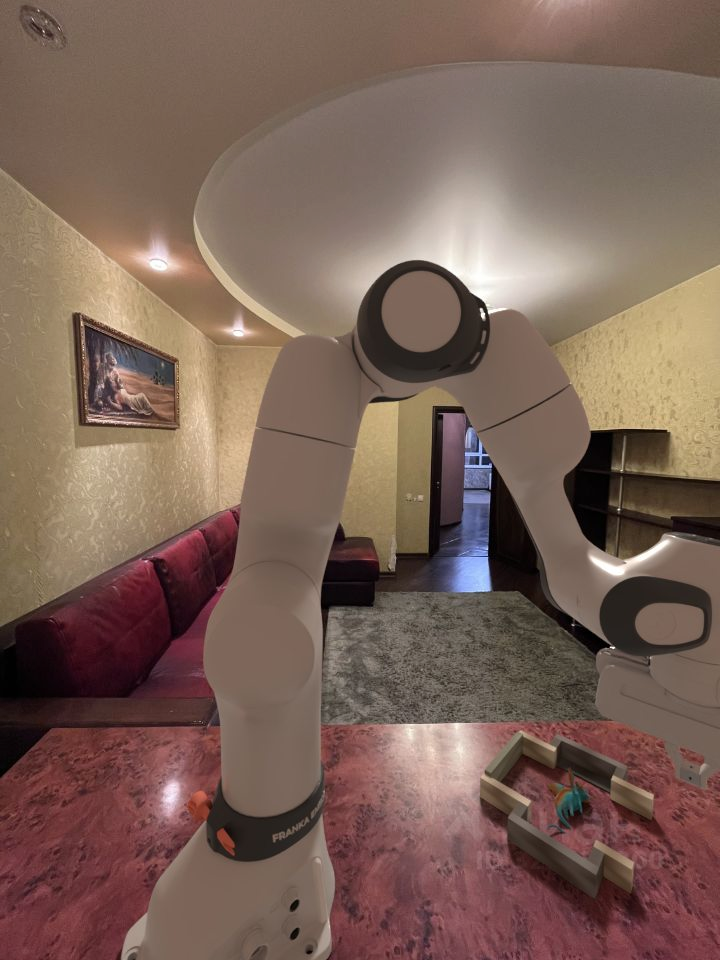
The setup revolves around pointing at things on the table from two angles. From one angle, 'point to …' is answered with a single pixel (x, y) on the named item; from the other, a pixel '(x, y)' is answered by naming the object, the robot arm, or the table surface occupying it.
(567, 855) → the channel
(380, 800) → the table surface
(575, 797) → the dragon figurine
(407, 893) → the table surface
